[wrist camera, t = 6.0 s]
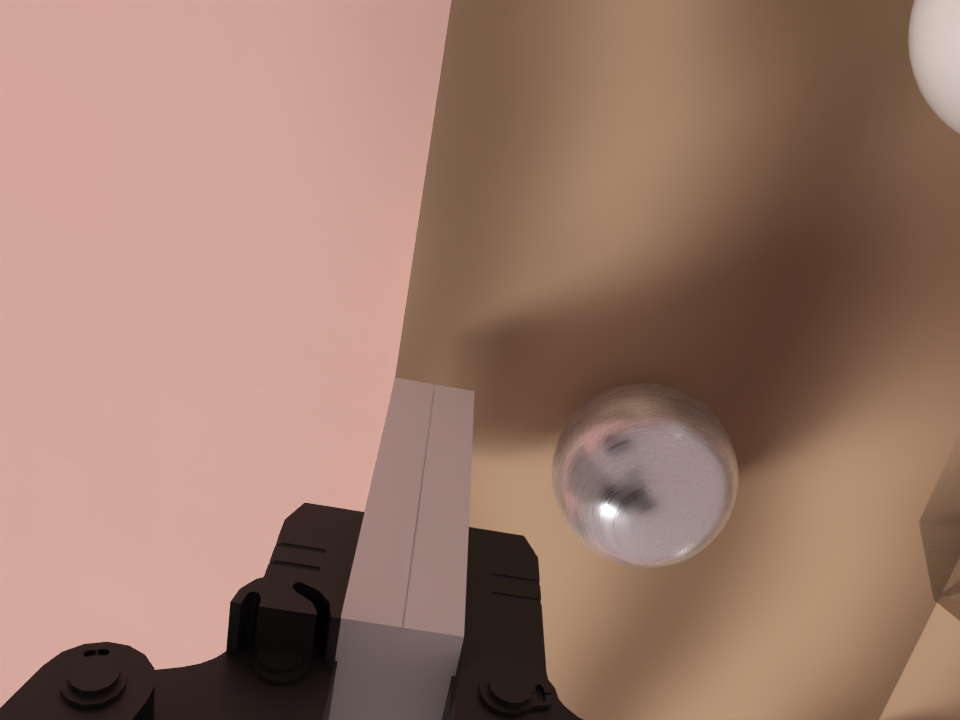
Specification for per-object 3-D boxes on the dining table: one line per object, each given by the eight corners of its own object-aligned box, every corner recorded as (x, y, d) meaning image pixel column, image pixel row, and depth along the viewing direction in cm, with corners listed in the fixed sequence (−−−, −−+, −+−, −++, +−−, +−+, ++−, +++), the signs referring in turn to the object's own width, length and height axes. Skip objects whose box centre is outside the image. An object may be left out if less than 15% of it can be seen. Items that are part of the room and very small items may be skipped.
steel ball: (531, 486, 19) (539, 593, 16) (566, 339, 18) (582, 425, 15) (688, 510, 20) (727, 620, 16) (736, 368, 18) (788, 459, 15)
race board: (346, 718, 26) (333, 793, 23) (498, -278, 16) (498, -314, 13) (1071, 817, 27) (1124, 897, 25) (1638, -39, 17) (1815, -37, 15)
